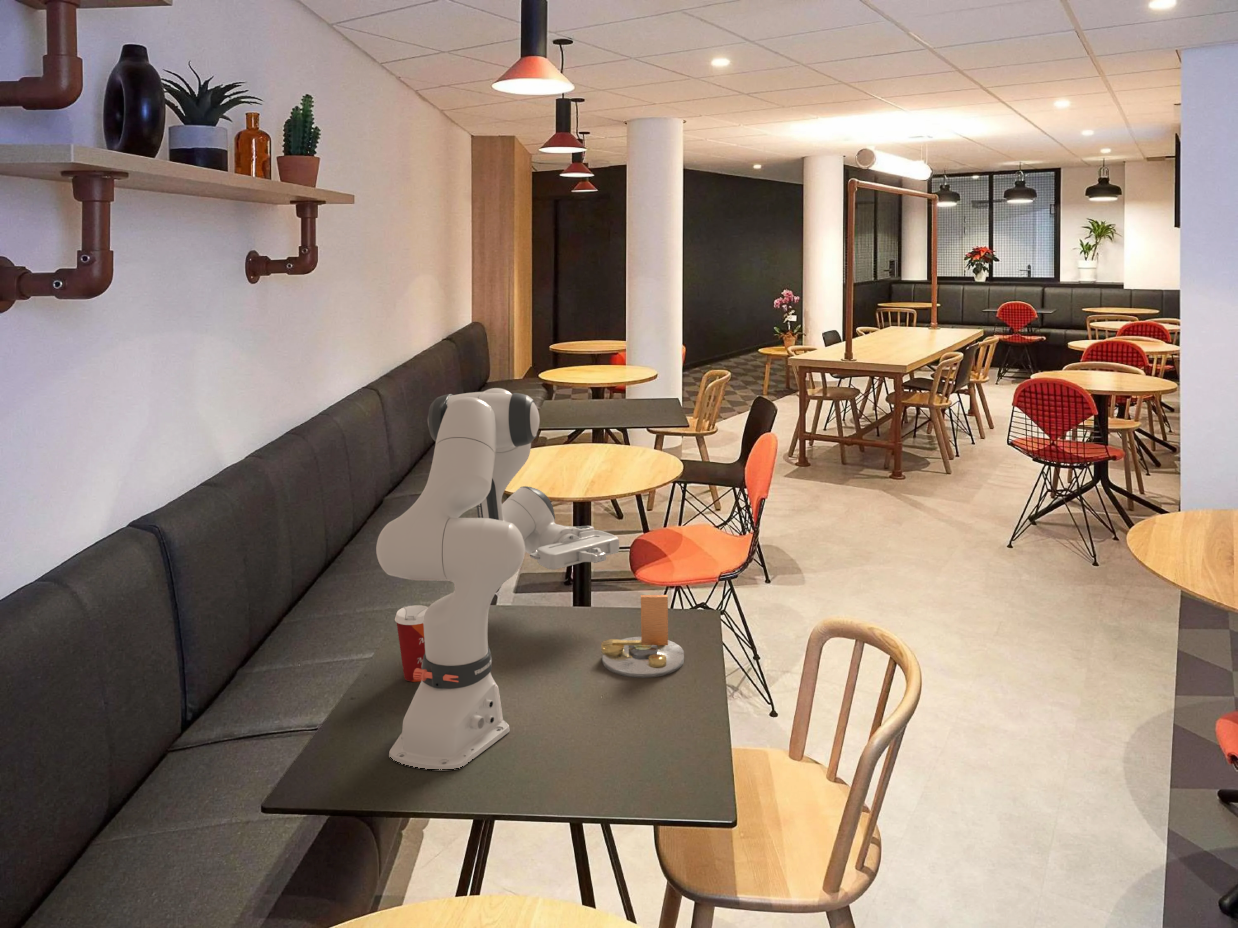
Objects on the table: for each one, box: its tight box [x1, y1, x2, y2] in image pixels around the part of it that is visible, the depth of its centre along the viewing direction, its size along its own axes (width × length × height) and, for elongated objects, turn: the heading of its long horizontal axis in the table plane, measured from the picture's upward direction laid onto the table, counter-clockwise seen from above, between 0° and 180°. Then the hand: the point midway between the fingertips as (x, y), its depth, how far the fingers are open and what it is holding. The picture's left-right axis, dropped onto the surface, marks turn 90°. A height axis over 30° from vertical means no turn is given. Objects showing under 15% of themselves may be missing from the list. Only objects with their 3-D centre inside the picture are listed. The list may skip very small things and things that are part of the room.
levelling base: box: [601, 636, 685, 679], centre depth 199 cm, size 17×17×3 cm
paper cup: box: [394, 604, 429, 683], centre depth 192 cm, size 8×8×14 cm
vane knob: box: [600, 594, 669, 656], centre depth 198 cm, size 14×5×12 cm, turn 88°
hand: (601, 558), depth 211 cm, fingers closed
